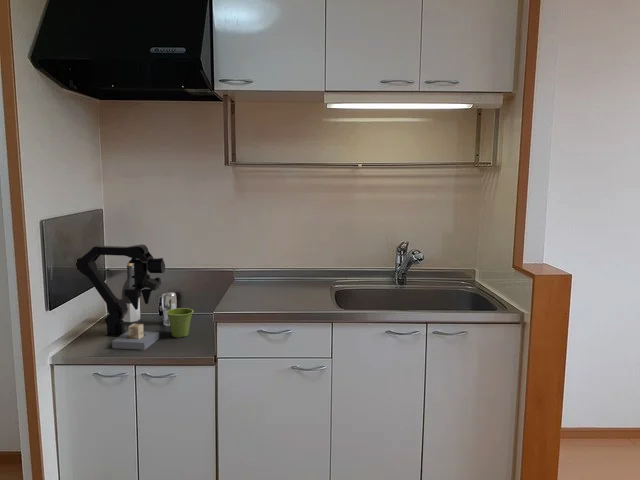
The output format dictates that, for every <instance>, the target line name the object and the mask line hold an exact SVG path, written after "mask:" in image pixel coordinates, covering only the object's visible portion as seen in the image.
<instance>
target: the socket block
mask: <svg viewBox="0 0 640 480" xmlns="http://www.w3.org/2000/svg"><path fill="white" fill-rule="evenodd" d="M143 332H144V337H142V338H141V339H129V330H127V331H125V333H123V334H121V335H120V336H117V338H115V339H113V340H112V341H111V344H112V349H119V350H120V349H122V350H123V349H124V350H139V351H145V350H146V349H148V348H149V347H150V346H152V345H153V344H154V343H156V342H157V341H158V340H160V332H159V331H145V330H143Z"/></svg>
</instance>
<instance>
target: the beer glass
mask: <svg viewBox="0 0 640 480" xmlns="http://www.w3.org/2000/svg"><path fill="white" fill-rule="evenodd" d="M177 299H178V298H177V293H176V292H172V291H171V292H164V293H162V294H161V309H162V313H163V322H162V325H163V326H166V327H167V326H168V327H169V326H170V322H169V318H168V314H167V313H166V312H167V311H168V310H171V309H177V306H178V305H177V303H178V302H177Z"/></svg>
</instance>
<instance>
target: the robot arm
mask: <svg viewBox="0 0 640 480" xmlns="http://www.w3.org/2000/svg"><path fill="white" fill-rule="evenodd" d="M101 256H122V257H123V256H125V257H128V258H130V260H128V262H127V263H132V264H133V276H132V278H133V279H134V284H133V285H132V287H135V288H131V287H130V288H128V289H126V290H125V291H124V295H125V296H126V297H128V299H129V300H130V302H131V303H132V305H133V307H134V308H135V310H137V309H138V302H139V297H140V298H141V296H142V298H143V301H144V303H145V305H149V302H150V299H151V298H150V297H151V294H152V292H154V291H156V290H159V289H160V286H161V285H162V280H161V277H159V276H156V277H155V278H154V277H153V278H152V277H151V275H150V274H164V273H165V272H166V263H165V260H164V258H163V257H158V258H155V257H154V256H153V255H152V254H151V253H150V251H149V248H148V247H147V245H146V244H143V243H142V244H135V245H129V246H121V245H120V246H117V245H116V246H114V245H100V244H99V245H95V246H93V247H92V248H91V249H90V250H89V251H88V252H87V253H85V254H84V255H83V256H81V257H79V258H77V259H76V260H77V263H76V266H77V268H76V270H77V271H79V273H80V274H81V275H83V276H85V277H86V278H88V280H89V281H90V282H91V284H92V286H93V287H94V289H96V291H97V292H98V294H99V295H100V297H101V298H102V300H103V301H104V302H105V304H106V308H107V312H108V315H107V316H106V317H105V318H104V322H105V324H106V333H105V336H107V337H120V336H121V335H123V334H124V333H126V330H125V325H124V323H123V318H124V315H126V314H127V312H128V307H127V306H128V305H127V304H126V303H125V302H124V300H123V298H122V297H121V298H120V299H119V298H117V297H116V295H115V294H114V293H113V292H112V290H111V288H110V286H109V285H108V284H107V282H106V281H105V280H104V278H103V277H102V276H101V274H100V273H99V271H98V266H97V263H96V261H97V260H98V259H99V258H100V257H101ZM148 272H149V273H148Z"/></svg>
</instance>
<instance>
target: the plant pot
mask: <svg viewBox="0 0 640 480" xmlns="http://www.w3.org/2000/svg"><path fill="white" fill-rule="evenodd" d="M166 313H167V314H168V318H169V322H170V332H171V336H172V337H173V338H183V337H187V336H189V334H190V327H191V319H192V316H193V313H194V309H191V308H188V307H187V308H185V307H181V308H180V307H176V309H171V310H168V311H167V312H166Z"/></svg>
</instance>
